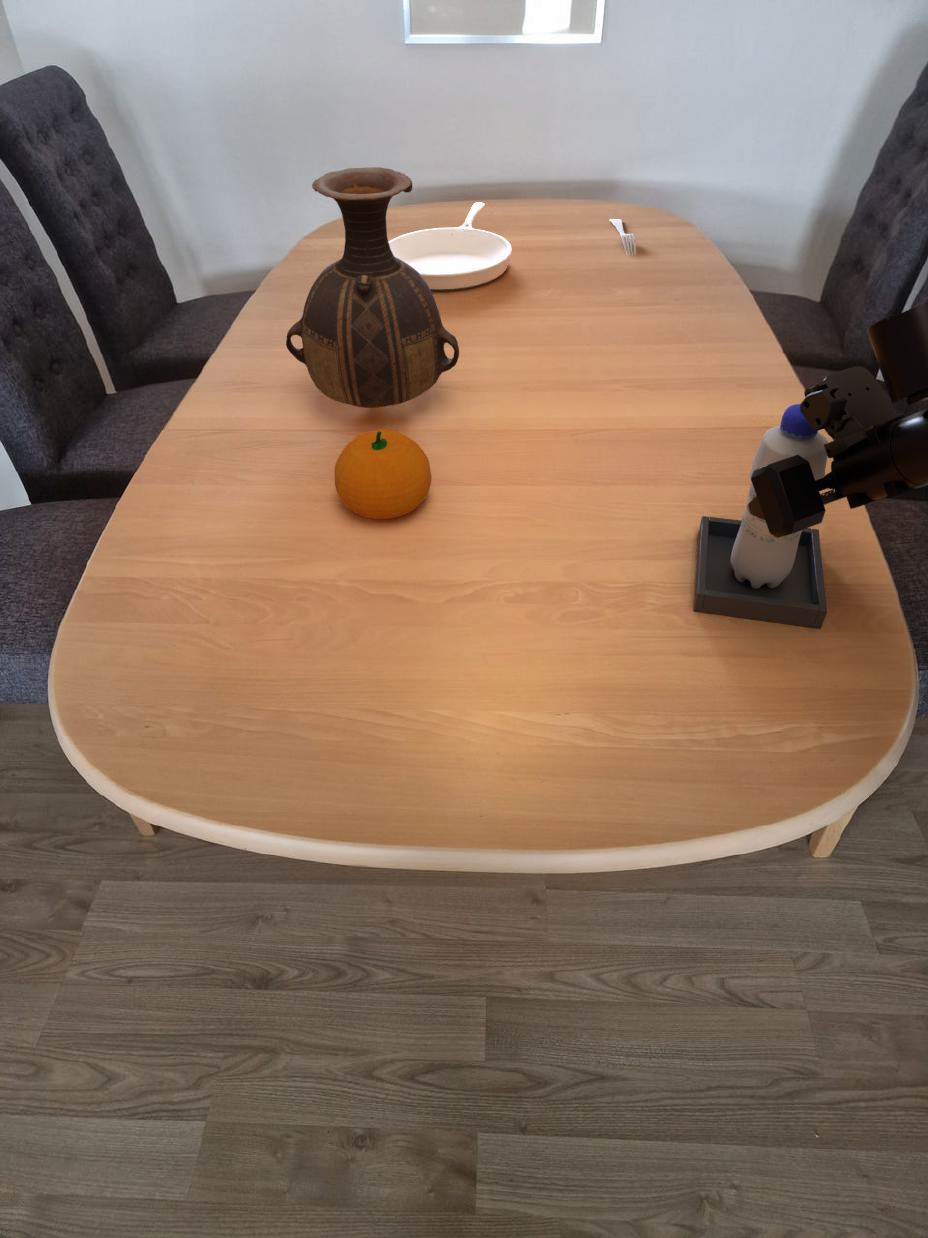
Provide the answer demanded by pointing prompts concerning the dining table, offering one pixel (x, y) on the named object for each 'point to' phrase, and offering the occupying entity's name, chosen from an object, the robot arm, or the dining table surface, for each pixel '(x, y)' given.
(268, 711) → the dining table surface
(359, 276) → the vase
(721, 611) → the tray
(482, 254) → the pan
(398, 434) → the fruit
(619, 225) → the fork
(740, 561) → the bottle
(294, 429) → the dining table surface
